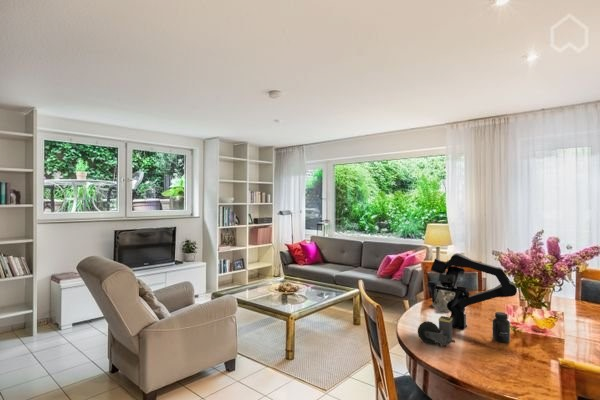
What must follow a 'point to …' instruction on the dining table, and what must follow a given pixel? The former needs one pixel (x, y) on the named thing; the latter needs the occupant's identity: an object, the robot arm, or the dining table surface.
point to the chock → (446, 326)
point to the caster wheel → (432, 334)
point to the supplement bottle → (501, 328)
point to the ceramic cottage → (443, 300)
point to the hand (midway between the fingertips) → (442, 304)
